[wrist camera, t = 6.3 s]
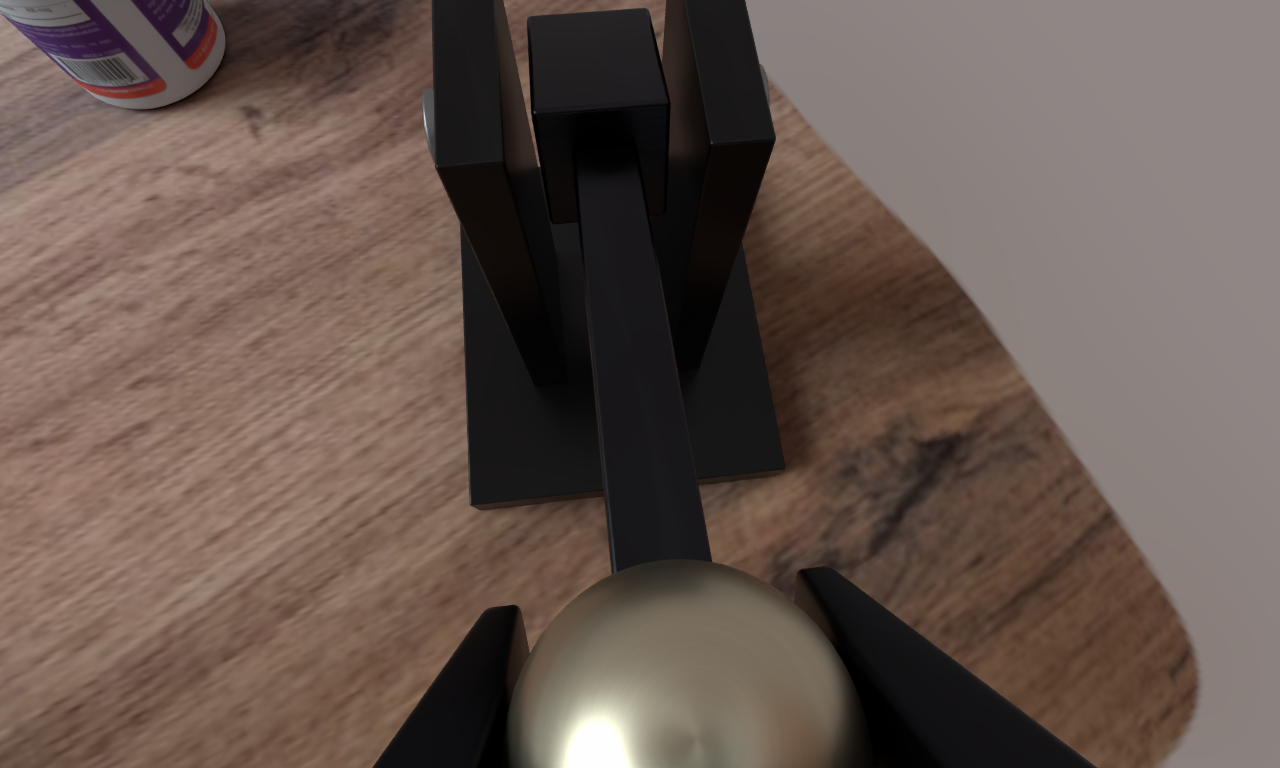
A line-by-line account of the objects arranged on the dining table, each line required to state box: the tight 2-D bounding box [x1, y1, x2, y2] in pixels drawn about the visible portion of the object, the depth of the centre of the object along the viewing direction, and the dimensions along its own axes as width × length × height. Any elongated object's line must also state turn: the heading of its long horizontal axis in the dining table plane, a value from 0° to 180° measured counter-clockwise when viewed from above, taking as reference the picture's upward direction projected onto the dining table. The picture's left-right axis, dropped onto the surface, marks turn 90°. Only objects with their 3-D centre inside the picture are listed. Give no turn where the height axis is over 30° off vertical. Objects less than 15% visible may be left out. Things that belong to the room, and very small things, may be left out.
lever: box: [501, 8, 875, 768], centre depth 9 cm, size 13×4×4 cm, turn 7°
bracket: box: [422, 0, 785, 510], centre depth 15 cm, size 11×9×11 cm
